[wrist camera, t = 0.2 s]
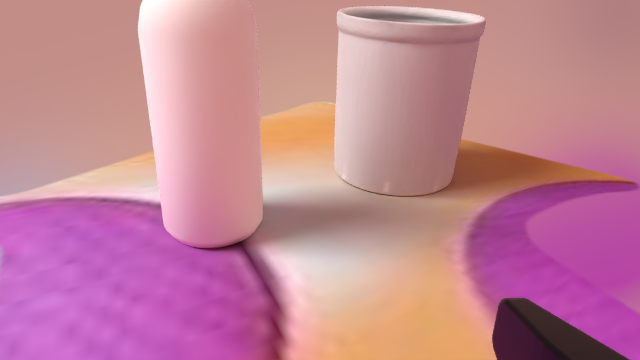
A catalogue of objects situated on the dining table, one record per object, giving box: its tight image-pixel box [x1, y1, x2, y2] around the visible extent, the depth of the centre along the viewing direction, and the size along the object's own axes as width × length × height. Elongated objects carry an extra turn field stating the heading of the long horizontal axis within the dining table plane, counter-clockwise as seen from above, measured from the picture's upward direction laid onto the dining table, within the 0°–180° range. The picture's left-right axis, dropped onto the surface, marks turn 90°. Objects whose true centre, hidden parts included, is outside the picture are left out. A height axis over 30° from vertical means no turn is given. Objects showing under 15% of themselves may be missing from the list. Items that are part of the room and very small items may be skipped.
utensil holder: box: [335, 6, 486, 196], centre depth 52 cm, size 15×15×18 cm
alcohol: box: [138, 0, 263, 248], centre depth 37 cm, size 9×9×30 cm
